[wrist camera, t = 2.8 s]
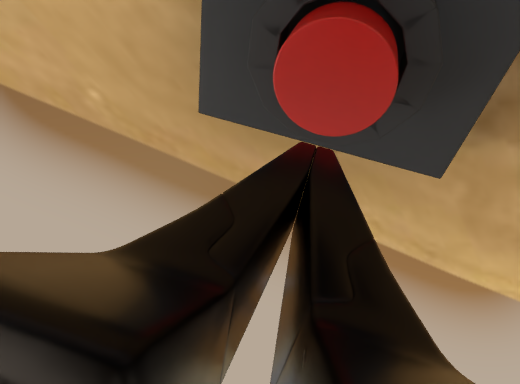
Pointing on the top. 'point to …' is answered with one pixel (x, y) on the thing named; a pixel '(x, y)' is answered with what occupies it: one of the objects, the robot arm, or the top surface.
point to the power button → (337, 69)
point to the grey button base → (409, 67)
